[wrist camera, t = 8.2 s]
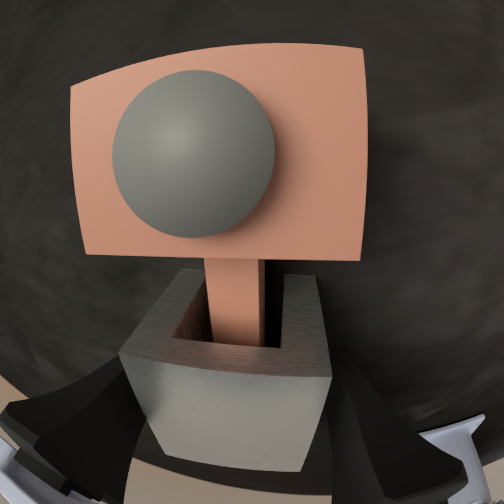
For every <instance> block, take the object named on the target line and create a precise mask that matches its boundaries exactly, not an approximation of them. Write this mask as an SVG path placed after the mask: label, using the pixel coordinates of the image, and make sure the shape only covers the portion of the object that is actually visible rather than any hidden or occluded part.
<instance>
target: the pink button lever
mask: <svg viewBox="0 0 504 504" xmlns="http://www.w3.org/2000/svg"><path fill="white" fill-rule="evenodd" d="M70 125H71V151H72V165H73V176H74V185H75V194H76V201H77V208H78V214H79V220H80V226H81V231H82V236H83V241H84V246H85V251H86V254H96V255H127V256H161V257H199V258H204V264H205V274H206V284H207V293H208V301H209V310H210V318H211V326H212V333H213V341H214V343H219V344H229V345H240V346H253V347H265V259H287V260H343V261H360V254H361V246H362V237H363V226H364V215H365V202H366V184H367V154H368V126H367V96H366V80H365V68H364V57H363V49H358V48H351V47H342V46H332V45H320V44H299V43H269V44H247V45H235V46H225V47H216V48H208V49H201V50H195V51H189V52H184V53H178V54H173V55H169V56H164V57H160V58H156V59H151V60H148V61H144V62H140V63H136V64H133V65H129V66H126V67H123V68H120V69H117V70H114V71H111V72H108V73H105V74H102V75H99V76H96V77H94V78H91V79H89V80H86V81H83V82H81V83H79V84H76V85H74V86H71V107H70Z"/></svg>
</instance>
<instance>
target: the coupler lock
mask: <svg viewBox="0 0 504 504" xmlns="http://www.w3.org/2000/svg"><path fill="white" fill-rule="evenodd" d="M118 354H119V357H120V359H121V362H122V364H123V367H124V370H125V372H126V375H127V377H128V379H129V382H130V384H131V386H132V389H133V391H134V393H135V396H136V398H137V400H138V402H139V404H140V407H141V409H142V411H143V413H144V415H145V417H146V419H147V421H148V423H149V425H150V427H151V429H152V431H153V433H154V434H155V436H156V438H157V440H158V442H159V444H160V445H161V447H162V449H163V451H164V452H165V454H166V455H170V456H174V457H178V458H183V459H187V460H192V461H197V462H202V463H208V464H213V465H220V466H227V467H234V468H243V469H253V470H266V471H290V472H300V470H301V468H302V466H303V463H304V460H305V458H306V455H307V453H308V450H309V447H310V445H311V442H312V439H313V437H314V434H315V431H316V428H317V425H318V422H319V419H320V416H321V413H322V410H323V407H324V404H325V400H326V397H327V394H328V390H329V387H330V383H331V380H332V371H331V364H330V357H329V351H328V344H327V338H326V332H325V326H324V321H323V315H322V309H321V304H320V298H319V293H318V288H317V283H316V278H315V275H297V274H285V277H284V294H283V310H282V324H281V338H280V348H268V347H253V346H240V345H229V344H219V343H214V341H213V333H212V326H211V318H210V310H209V301H208V293H207V284H206V274H205V270H199V269H183V268H182V269H181V271H180V272H179V273H178V274H177V276H176V277H175V278H174V279H173V281H172V282H171V283H170V284H169V286H168V287H167V288H166V290H165V291H164V292H163V293H162V295H161V296H160V297H159V299H158V300H157V301H156V303H155V304H154V305H153V306H152V308H151V309H150V310H149V312H148V313H147V314H146V316H145V317H144V318H143V320H142V321H141V322H140V324H139V325H138V326H137V328H136V329H135V330H134V332H133V333H132V334H131V336H130V337H129V338H128V340H127V341H126V342H125V344H124V345H123V347H122V348H121V349H120V351H119V352H118Z"/></svg>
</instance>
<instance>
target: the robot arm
mask: <svg viewBox="0 0 504 504" xmlns="http://www.w3.org/2000/svg"><path fill="white" fill-rule="evenodd" d="M330 364H331V371H332V380H331V383H330V387H329V390H328V394H327V397H326V410H327V417H328V424H329V431H330V438H331V445H332V455H333V483H332V503H331V504H487V503H489V502H490V501H492V500H491V496H490V492H489V489H488V485H487V482H486V479H485V475H484V472H483V469H482V466H481V463H480V460H479V457H478V454H477V451H476V448H475V446H474V443H473V440H472V438H471V434H472V433H473V432H474V431H475V430H476V428H477V427H478V426H479V425H480V424H481V422H482V421H483V420H484V419H485V415H484V414H481V415H478V416H476V417H473V418H470V419H467V420H464V421H461V422H458V423H455V424H452V425H448V426H445V427H441V428H438V429H434V430H430V431H426V432H422V433H417V432H416V431H414V430H413V429H412V428H411V427H410V426H408V425H407V424H406V423H405V422H404V421H403V420H402V419H401V418H400V417H399V416H398V415H397V414H396V413H395V412H394V411H393V410H392V409H391V408H390V407H389V405H388V404H387V403H386V402H385V401H384V400H383V398H382V397H381V396H380V395H379V394H378V392H377V391H376V390H375V388H374V387H373V386H372V384H371V383H370V382H369V380H368V379H367V378H366V376H365V375H364V373H363V372H362V370H361V369H360V367H359V366H358V364H357V363H356V361H355V360H354V358H353V356H352V355H351V353H350V352H349V350H348V349H334V350H332V353H331V358H330ZM145 421H146V417H145V415H144V413H143V411H142V409H141V407H140V404H139V402H138V400H137V398H136V396H135V393H134V391H133V389H132V386H131V384H130V382H129V379H128V377H127V375H126V372H125V370H124V367H123V364H122V362H121V359H120V357H119V355H118V356H116V357H115V358H113V359H112V360H111V361H109V362H108V363H106V364H105V365H103V366H102V367H100V368H99V369H97V370H95V371H94V372H92V373H91V374H89V375H87V376H86V377H84V378H82V379H80V380H78V381H76V382H74V383H72V384H70V385H68V386H66V387H63V388H61V389H59V390H56V391H54V392H51V393H48V394H45V395H42V396H38V397H34V398H30V399H26V400H20V401H14V402H9V404H8V405H7V406H6V408H5V409H4V410H3V411H2V413H1V414H0V426H1V428H2V429H3V430H4V431H5V432H6V433H7V434H8V435H9V437H10V438H11V439H12V440H13V441H14V442H15V443H16V444H17V445H18V446H19V447H20V448H19V450H18V451H17V450H16V449H15V448H14V447H13V446H11V445H10V444H9V443H8V442H7V441H6V440H4V439H3V438H2V437H1V436H0V493H2V495H3V496H4V497H5V498H6V499H7V500H8V501H9V502H10V504H98V503H96V502H94V501H92V500H91V499H94V500H96V501H99V502H100V501H103V502H105V503H107V504H123V502H124V494H125V487H126V482H127V477H128V472H129V467H130V464H131V460H132V457H133V453H134V450H135V447H136V444H137V440H138V437H139V435H140V432H141V430H142V428H143V426H144V424H145ZM489 504H504V501H503V500H500V501H499V502H497V503H496V501H493V502H491V503H489Z"/></svg>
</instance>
